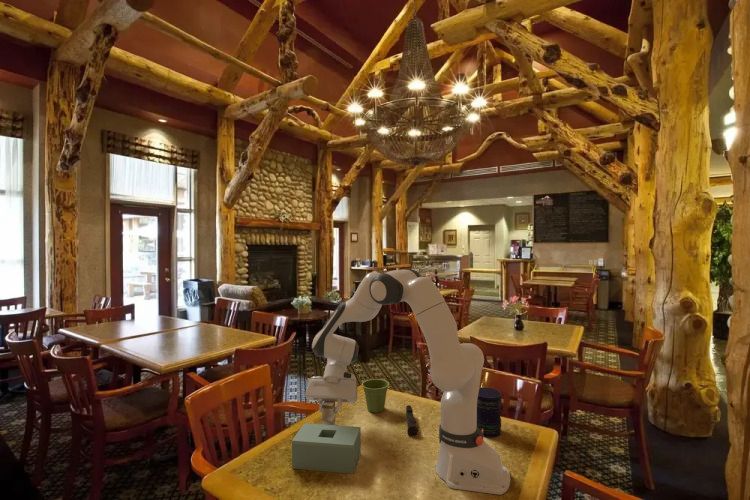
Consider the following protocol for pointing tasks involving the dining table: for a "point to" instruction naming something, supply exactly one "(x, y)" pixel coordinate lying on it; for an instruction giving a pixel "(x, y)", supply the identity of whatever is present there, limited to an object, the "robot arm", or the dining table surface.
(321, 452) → the box with square hole
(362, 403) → the dining table surface
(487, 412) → the storage jar
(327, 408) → the wooden block
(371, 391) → the plant pot
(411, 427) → the hand tool
